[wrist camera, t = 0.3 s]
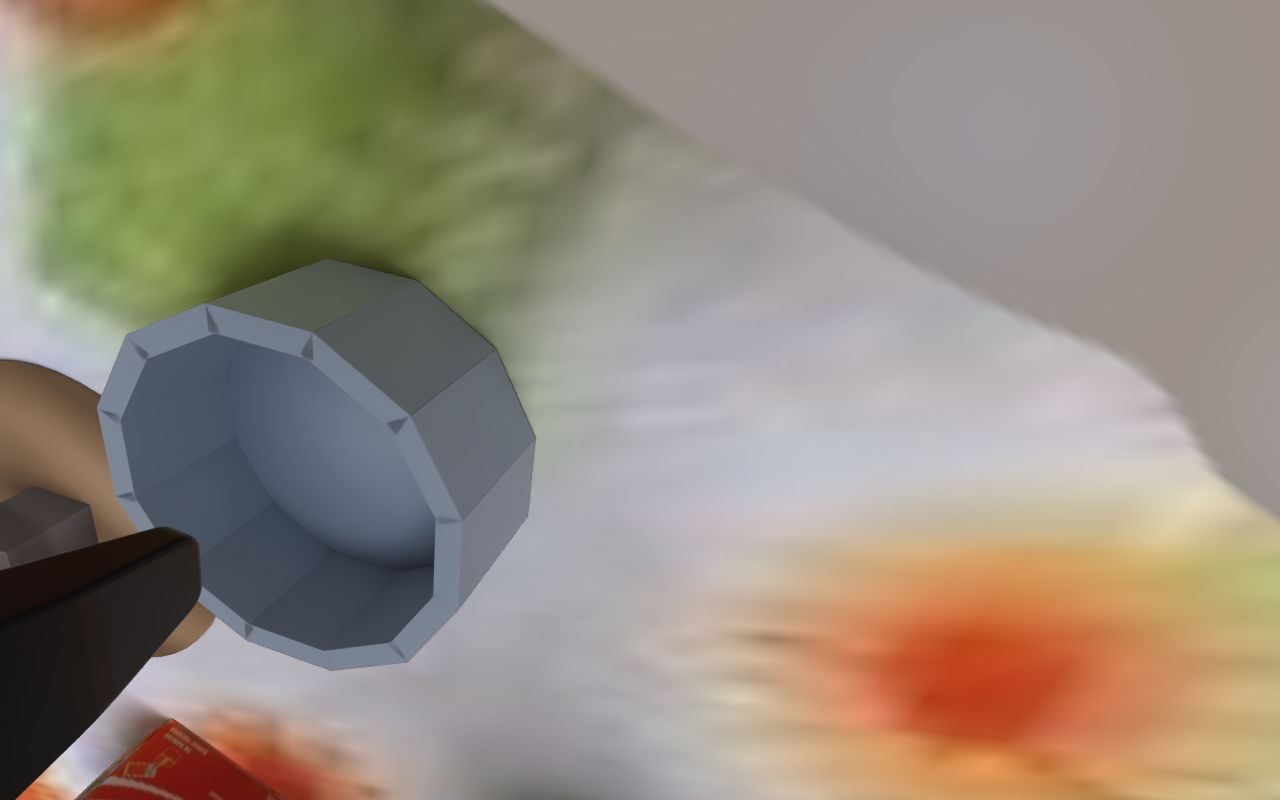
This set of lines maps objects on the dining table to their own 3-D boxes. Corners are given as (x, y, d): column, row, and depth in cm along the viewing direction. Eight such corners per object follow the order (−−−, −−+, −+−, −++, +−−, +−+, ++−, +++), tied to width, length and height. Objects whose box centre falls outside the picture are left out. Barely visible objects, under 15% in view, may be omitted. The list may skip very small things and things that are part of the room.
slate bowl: (517, 611, 28) (452, 714, 23) (243, 521, 30) (137, 600, 25) (548, 313, 22) (470, 375, 18) (210, 228, 24) (67, 265, 20)
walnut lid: (244, 684, 35) (170, 759, 31) (-8, 591, 38) (-104, 650, 34) (208, 409, 28) (108, 463, 25) (-96, 319, 31) (-229, 355, 27)
